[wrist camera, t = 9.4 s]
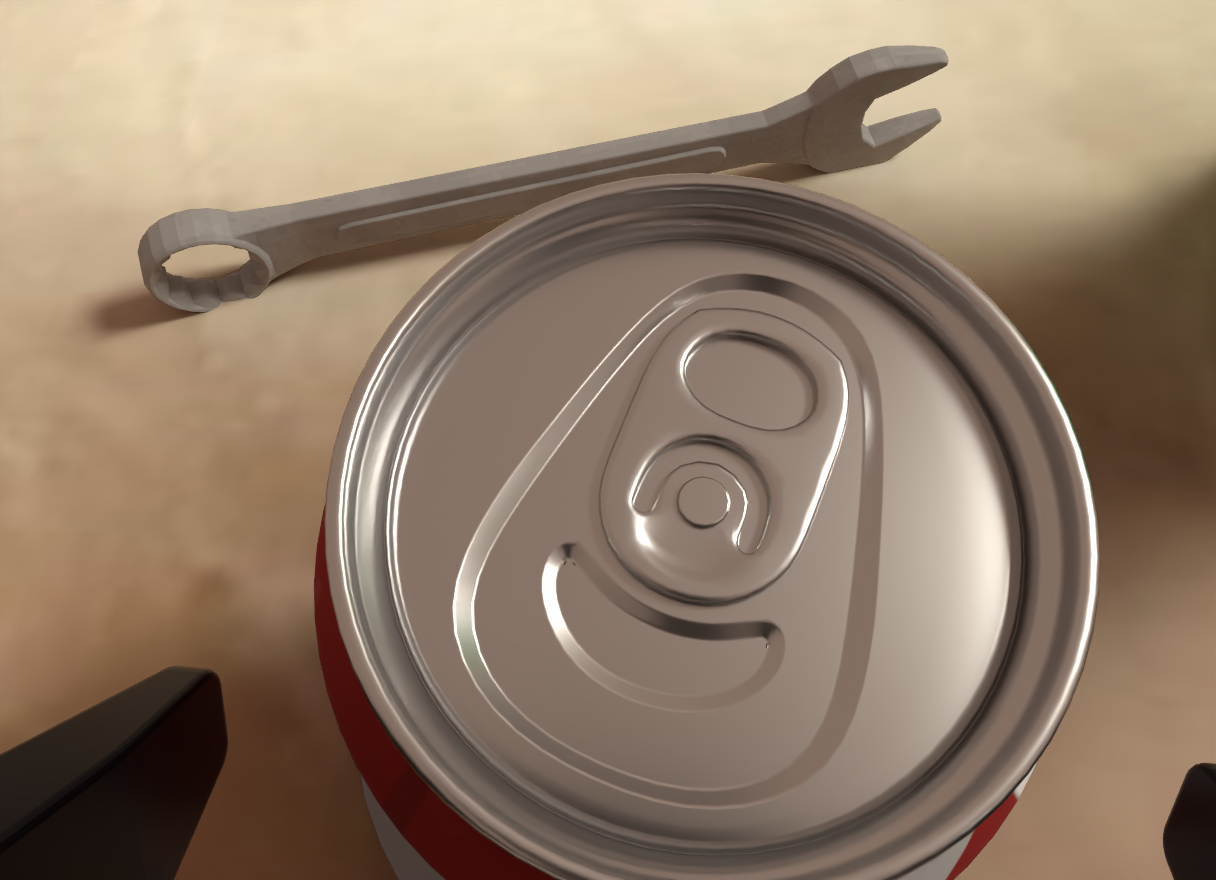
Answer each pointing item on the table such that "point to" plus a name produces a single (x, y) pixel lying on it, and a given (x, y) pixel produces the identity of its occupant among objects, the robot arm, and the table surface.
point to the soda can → (702, 547)
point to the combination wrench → (548, 179)
